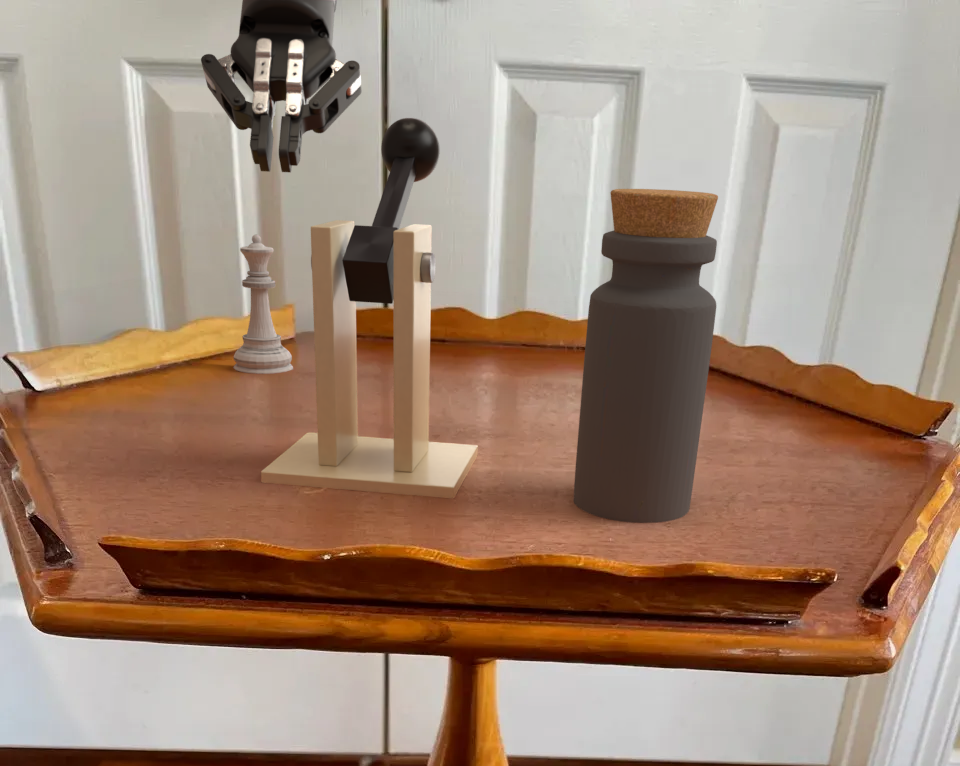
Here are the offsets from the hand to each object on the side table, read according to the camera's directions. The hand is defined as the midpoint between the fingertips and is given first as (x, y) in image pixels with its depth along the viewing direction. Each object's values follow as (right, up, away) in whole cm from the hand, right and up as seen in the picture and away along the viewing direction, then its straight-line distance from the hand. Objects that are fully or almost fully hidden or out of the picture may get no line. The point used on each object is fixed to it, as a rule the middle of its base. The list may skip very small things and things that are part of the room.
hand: (274, 163), depth 80 cm
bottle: (+24, -31, -28) cm, 48 cm away
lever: (+12, -15, -25) cm, 32 cm away
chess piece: (0, -17, -2) cm, 18 cm away
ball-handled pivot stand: (+10, -28, -24) cm, 39 cm away
